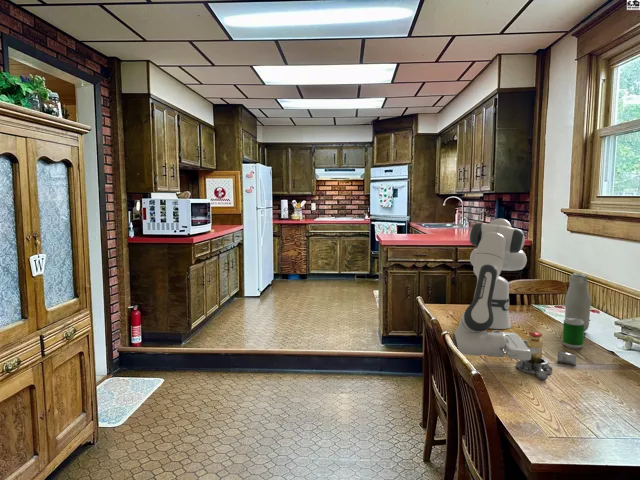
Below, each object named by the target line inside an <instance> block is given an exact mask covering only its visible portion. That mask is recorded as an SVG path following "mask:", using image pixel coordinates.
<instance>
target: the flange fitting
mask: <svg viewBox="0 0 640 480" xmlns="http://www.w3.org/2000/svg"><path fill="white" fill-rule="evenodd" d="M515 366H516V369H517V370H519V371H520V372H522V373H525V374H528V375H532V376H536V377H537V378H538V380H540V381H542V382H543V381H546V380H548V377H549V375H551V374H552V373H553V367H552V366H550V365H549V361H548V360H547V359H546V358H545V357H542V363H541V364H540V363H531V362H528V361H527V360H518V361H517V362H516V365H515Z"/></svg>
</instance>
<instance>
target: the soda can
mask: <svg viewBox="0 0 640 480" xmlns="http://www.w3.org/2000/svg"><path fill="white" fill-rule="evenodd" d="M562 331H563V332H562V333H563V334H562V343H563V345H564V346H565V347H566V348H569V349H574V350H575V349H578V350H579V349H581V348H582V347H583V346H584V337H585V336H584V333H585V331H584V322H583V321H582V319H580V318H576V317H567V318H566V319H565V318H564V319H563V330H562Z"/></svg>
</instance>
